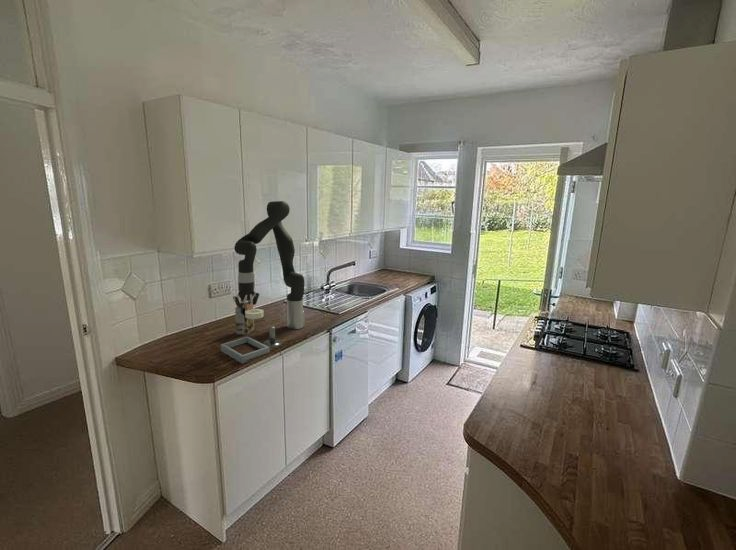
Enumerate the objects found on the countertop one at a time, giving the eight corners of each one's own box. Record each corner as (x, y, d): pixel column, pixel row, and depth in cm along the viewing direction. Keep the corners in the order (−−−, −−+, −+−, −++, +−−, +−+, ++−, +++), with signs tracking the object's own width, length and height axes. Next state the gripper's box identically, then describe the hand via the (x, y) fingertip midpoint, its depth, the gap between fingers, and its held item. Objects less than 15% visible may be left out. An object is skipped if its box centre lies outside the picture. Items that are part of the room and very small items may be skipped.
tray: (248, 342, 192) (247, 336, 191) (269, 353, 179) (269, 347, 178) (221, 351, 181) (220, 344, 180) (242, 363, 168) (241, 356, 167)
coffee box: (246, 336, 200) (245, 308, 197) (236, 335, 201) (234, 307, 198) (254, 330, 209) (253, 304, 205) (244, 329, 210) (243, 303, 207)
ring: (252, 310, 187) (252, 301, 186) (266, 316, 179) (266, 306, 178) (237, 313, 181) (236, 304, 180) (251, 320, 172) (251, 310, 171)
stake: (275, 339, 197) (274, 322, 195) (286, 344, 190) (285, 326, 188) (259, 344, 189) (258, 326, 187) (270, 350, 183) (269, 331, 181)
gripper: (254, 277, 187) (255, 309, 190) (229, 281, 176) (230, 314, 180) (262, 280, 182) (263, 312, 185) (236, 283, 172) (237, 318, 175)
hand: (246, 313), depth 183 cm, fingers closed on ring, 3 cm apart
